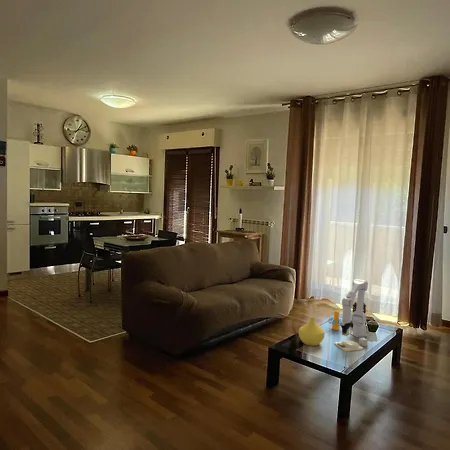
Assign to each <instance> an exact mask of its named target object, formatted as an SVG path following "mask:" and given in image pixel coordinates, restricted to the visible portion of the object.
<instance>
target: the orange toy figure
mask: <svg viewBox="0 0 450 450" xmlns="http://www.w3.org/2000/svg"><path fill="white" fill-rule="evenodd" d="M341 319H342V318H340V310H338V309H337V310H336V309H335V310H334V311H333V316H331V318H328V320H327V321H328V323H329V324H331V329H332V330H333V331H340V327H341V325H340V323H341V322H342V321H341Z"/></svg>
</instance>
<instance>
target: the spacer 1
mask: <svg viewBox="0 0 450 450" xmlns="http://www.w3.org/2000/svg"><path fill="white" fill-rule="evenodd" d="M341 335H342V336H345V337H348V336H350V328H347V331H346V334H343V332H342V331H341Z"/></svg>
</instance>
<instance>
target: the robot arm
mask: <svg viewBox="0 0 450 450" xmlns="http://www.w3.org/2000/svg"><path fill="white" fill-rule="evenodd" d="M368 285H369V282H368V280H363V279H359V278H354V279H353V281H352V288H351V290H350V291H348V292H347V294H346V296H345V297H343V298H342V300H341V305H342V306H341V307H342V315H341V316H342V317H341V318H340V319H341V320H340V321H341V322H340V325H341V326H340V327H341V333H342V332H343V334H346V331H347V328H349V329H350V327H351V326H353V327H352V332H349V335H350V334H351V335H352V336H354V337H356V338H365V337H367V327H366V325H365V323H367V315H366V313H365V314H364V312H363V310H364V309H363V304H364V303H365V294H366V291H367V292H368V288H369V287H368ZM356 296H357V299H356ZM355 299H356V303H357V307H356V311H355V312H352V308H353V304H354V303H355V301H354V300H355ZM351 321H352V322H353V325H351V324H352V323H351Z"/></svg>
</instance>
